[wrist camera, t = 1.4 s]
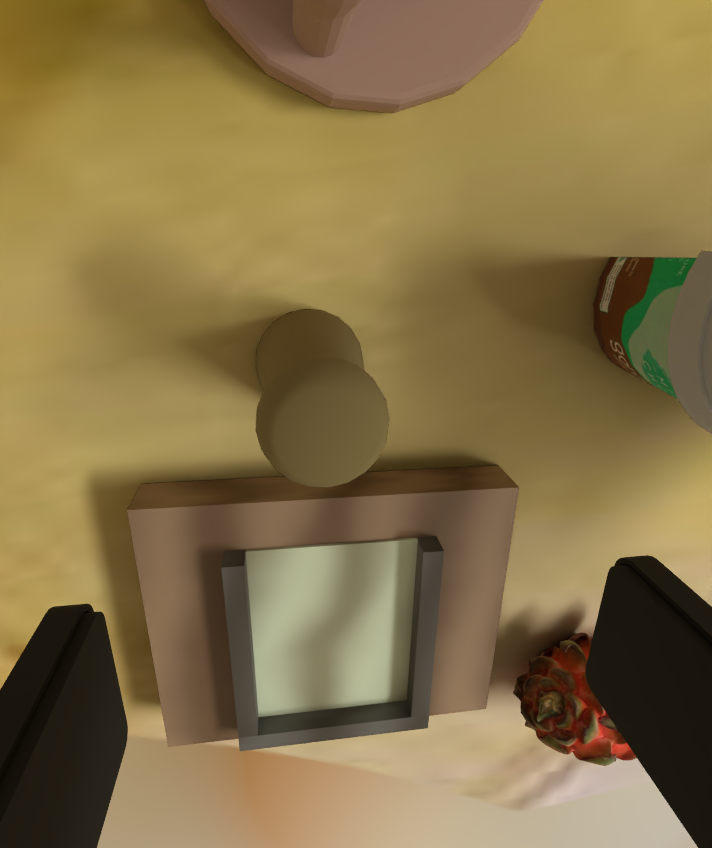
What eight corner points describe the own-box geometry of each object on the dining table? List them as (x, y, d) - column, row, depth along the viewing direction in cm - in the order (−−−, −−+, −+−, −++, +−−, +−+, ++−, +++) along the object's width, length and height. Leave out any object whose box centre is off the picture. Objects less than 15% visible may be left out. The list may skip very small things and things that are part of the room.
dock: (498, 465, 32) (530, 500, 28) (471, 674, 39) (494, 727, 35) (141, 483, 29) (118, 525, 25) (176, 706, 36) (163, 769, 32)
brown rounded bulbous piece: (236, 334, 27) (210, 397, 17) (340, 291, 27) (376, 330, 17) (282, 429, 29) (283, 534, 19) (377, 390, 29) (429, 476, 19)
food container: (531, 342, 30) (644, 395, 20) (590, 244, 28) (742, 252, 19) (678, 421, 33) (831, 496, 24) (738, 337, 32) (928, 383, 22)
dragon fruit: (479, 643, 40) (604, 610, 43) (506, 761, 38) (635, 718, 41) (538, 662, 32) (687, 619, 35) (577, 813, 30) (730, 754, 33)
